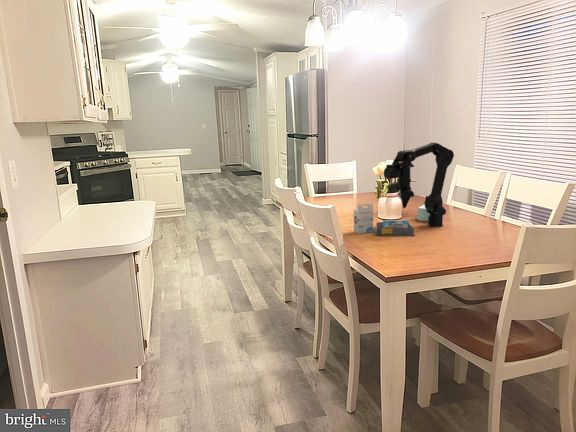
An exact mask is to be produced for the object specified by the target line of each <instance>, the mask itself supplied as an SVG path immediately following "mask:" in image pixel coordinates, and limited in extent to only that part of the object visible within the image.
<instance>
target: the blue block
mask: <svg viewBox="0 0 576 432" xmlns="http://www.w3.org/2000/svg"><path fill="white" fill-rule="evenodd" d="M408 222H409V221H408V220H406V219H403V220H402V219H400V220H399V219H395V220H394V219H388V220H387V219H386V220H385V219H384V220H382V228H408Z"/></svg>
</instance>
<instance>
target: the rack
mask: <svg viewBox="0 0 576 432" xmlns="http://www.w3.org/2000/svg"><path fill="white" fill-rule="evenodd" d="M373 230H374V232H375V235H376V237H415V236H416V234H415V227H414V226H413V225H411V224H410V222H409V221H408V228H382V222H381V221H380V222H379V221H378V222H377V221H376V226H375V227H374V226H373Z"/></svg>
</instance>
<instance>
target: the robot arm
mask: <svg viewBox="0 0 576 432" xmlns="http://www.w3.org/2000/svg"><path fill="white" fill-rule="evenodd" d="M428 154H432V155H434V156H435V164H436V169H435V174H434V178H433V182H432V188H431V192H430V194H429V195H426V196H425V198H424V199H425V200H424V202H423V203H424V204H423V205H425V208H426V210H427V213H429V216H428V221H427V224H428V225H429V227H444V224H443V222H444V221H443V219H444V216H445V215H446V214H447V210H446V208H444V206H443V198H442V197H443V196H442V192H443V188H444V183H445V179H446V175H447V170H448V167H449V166H450V165H451V164H452V162H453V159H454V157H455V154H454V152H453V150H452V149H449V148H447V147H446V146H443V145H442V144H440V143H438V142H430V143H428V144H425V145H421V146H418V147H416V148H413V149H406V150H405V149H404V150H399V151H398V152H397V154H396V156H395V158H394V160H393V161H392V163H391V164H386V166H385V167H384V171H383V176H384V178H385V179H386V180H391V179H392V180H393V179H396V181H395V182H392V183H389V184H386V188H387V191H388V193H389V194H390V193H393V192H394V191H395V192H398V193H396V194H397V195H398V196H399V197H400V200H401V201H400V202H401V205H402V209H406V207H407V206H408V203H409V202H410V199H411V198H414V197H415V192H414V191H413V190H412V187H411V182H412V179H411V168H414V167H415V165H414V164H413V162H414V161H415V160H416V159H417V158H419V157H421V156H425V155H428Z"/></svg>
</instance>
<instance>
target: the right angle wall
mask: <svg viewBox="0 0 576 432" xmlns="http://www.w3.org/2000/svg"><path fill="white" fill-rule="evenodd" d="M428 216H429V213H427V210H426V208H425V204H423V205H421V206H418V208H417V221H420V222H428Z"/></svg>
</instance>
